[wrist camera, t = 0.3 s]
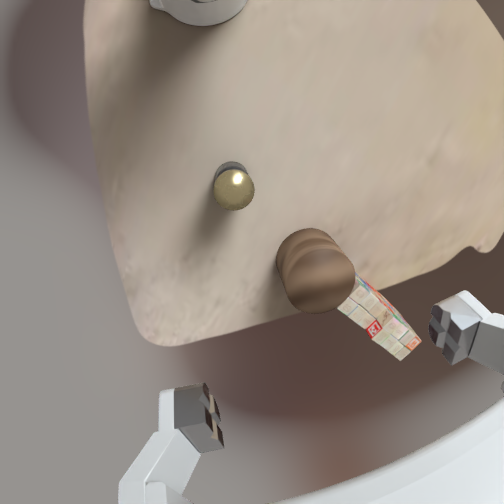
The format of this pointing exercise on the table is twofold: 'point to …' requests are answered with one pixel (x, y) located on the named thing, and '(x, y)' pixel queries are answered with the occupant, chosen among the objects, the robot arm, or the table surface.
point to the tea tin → (233, 186)
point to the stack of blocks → (379, 319)
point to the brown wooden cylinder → (314, 271)
